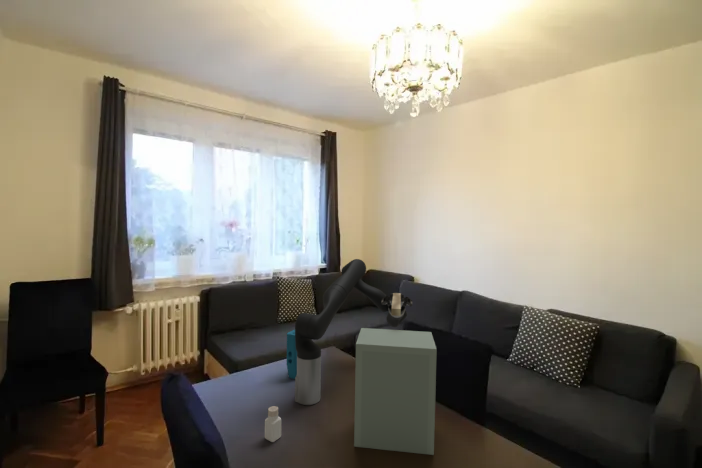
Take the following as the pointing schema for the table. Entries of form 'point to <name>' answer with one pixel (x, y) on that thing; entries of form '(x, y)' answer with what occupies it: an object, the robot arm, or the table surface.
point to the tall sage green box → (395, 390)
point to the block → (291, 355)
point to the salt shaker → (273, 425)
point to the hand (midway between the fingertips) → (396, 295)
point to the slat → (396, 304)
